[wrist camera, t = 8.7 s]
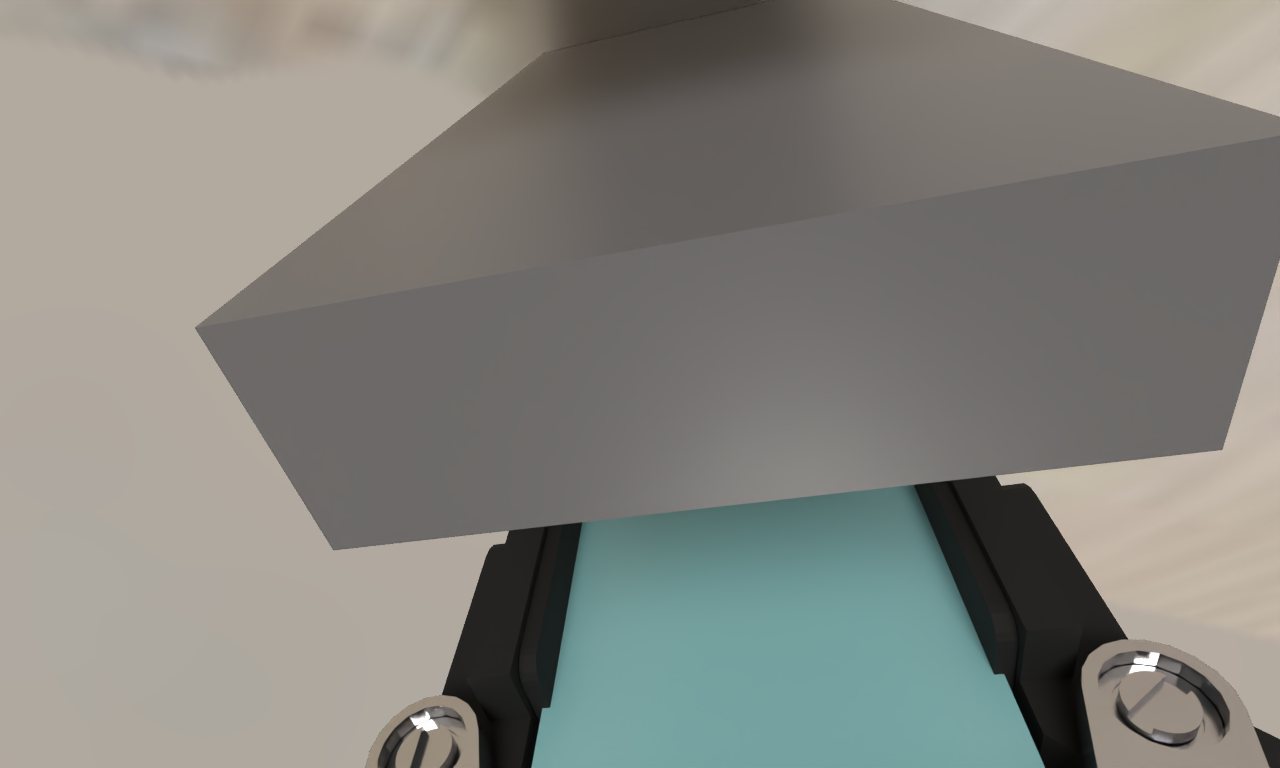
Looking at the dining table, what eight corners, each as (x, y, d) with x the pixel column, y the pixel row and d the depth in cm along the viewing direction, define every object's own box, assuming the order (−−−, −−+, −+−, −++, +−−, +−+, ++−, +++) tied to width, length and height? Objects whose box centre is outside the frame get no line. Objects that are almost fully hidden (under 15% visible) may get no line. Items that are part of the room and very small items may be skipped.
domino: (846, 89, 12) (1221, 450, 4) (568, 146, 13) (333, 550, 4) (841, -16, 11) (1316, 129, 3) (544, 53, 12) (194, 328, 3)
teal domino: (598, 405, 13) (444, 1241, 5) (869, 367, 12) (1272, 1287, 4) (616, 470, 14) (514, 1280, 5) (872, 438, 13) (1207, 1319, 5)
